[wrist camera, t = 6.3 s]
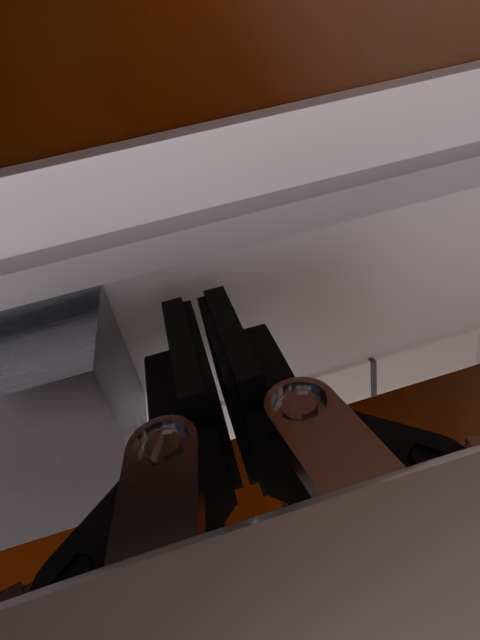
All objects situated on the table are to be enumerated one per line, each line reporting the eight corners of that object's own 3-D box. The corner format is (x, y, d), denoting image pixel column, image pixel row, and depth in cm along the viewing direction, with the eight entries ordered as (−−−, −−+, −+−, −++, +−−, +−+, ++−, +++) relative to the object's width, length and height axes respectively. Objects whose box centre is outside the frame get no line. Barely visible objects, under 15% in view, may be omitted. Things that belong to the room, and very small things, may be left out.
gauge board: (594, 33, 13) (945, 9, 7) (533, 318, 18) (712, 428, 13) (-294, 235, 10) (-760, 423, 5) (-66, 497, 16) (-168, 730, 10)
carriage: (101, 281, 12) (92, 370, 8) (168, 455, 15) (181, 567, 12) (-97, 332, 11) (-194, 450, 8) (21, 500, 15) (-9, 630, 11)
